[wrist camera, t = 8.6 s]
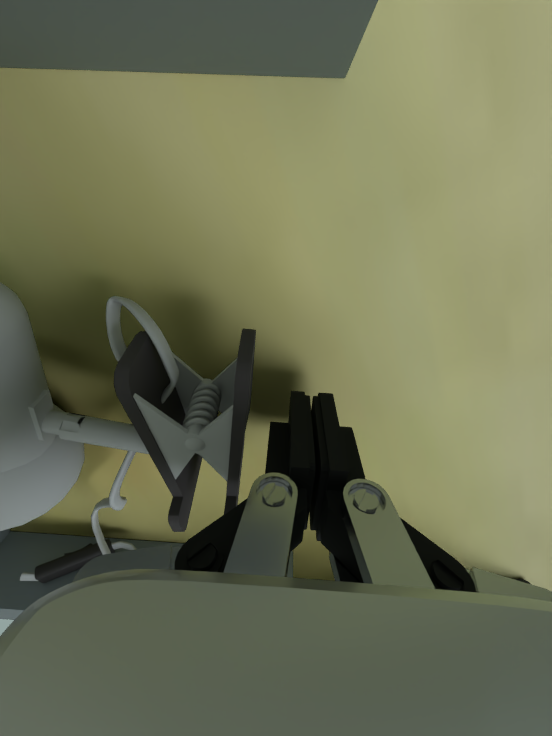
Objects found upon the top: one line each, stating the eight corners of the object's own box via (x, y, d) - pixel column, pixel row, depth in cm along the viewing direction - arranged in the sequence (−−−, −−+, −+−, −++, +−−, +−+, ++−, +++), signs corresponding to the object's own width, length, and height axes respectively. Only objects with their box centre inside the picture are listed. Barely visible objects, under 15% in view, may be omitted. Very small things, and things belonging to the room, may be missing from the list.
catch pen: (291, 561, 19) (291, 641, 16) (-1, 541, 20) (-63, 613, 16) (351, 14, 8) (402, -146, 4) (-373, -5, 8) (-885, -163, 5)
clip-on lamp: (211, 524, 22) (291, 310, 11) (191, 642, 17) (301, 477, 6) (30, 499, 20) (-107, 200, 8) (-53, 626, 15) (-631, 316, 4)
